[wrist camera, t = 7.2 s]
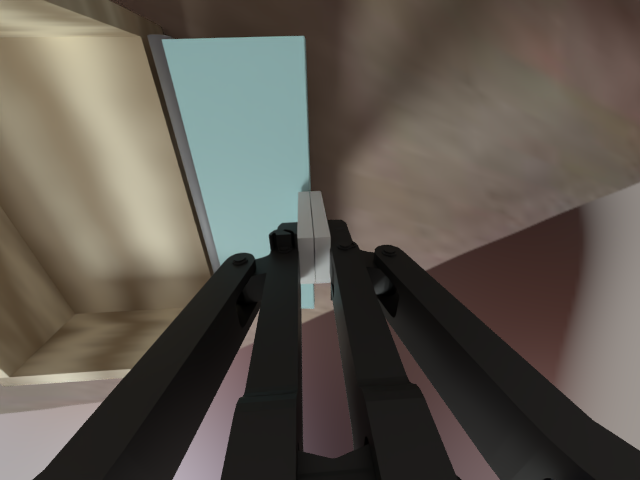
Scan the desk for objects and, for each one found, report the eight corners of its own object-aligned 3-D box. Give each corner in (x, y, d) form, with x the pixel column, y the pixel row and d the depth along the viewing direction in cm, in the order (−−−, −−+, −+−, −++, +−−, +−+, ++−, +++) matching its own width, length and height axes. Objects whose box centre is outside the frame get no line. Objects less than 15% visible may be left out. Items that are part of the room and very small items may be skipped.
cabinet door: (221, 309, 23) (313, 310, 23) (142, 34, 13) (303, 30, 13) (225, 300, 24) (314, 301, 24) (155, 39, 14) (305, 35, 14)
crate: (92, 299, 26) (3, 386, 18) (-78, 27, 15) (-478, -47, 7) (229, 292, 27) (199, 372, 19) (161, 26, 16) (26, -42, 8)
